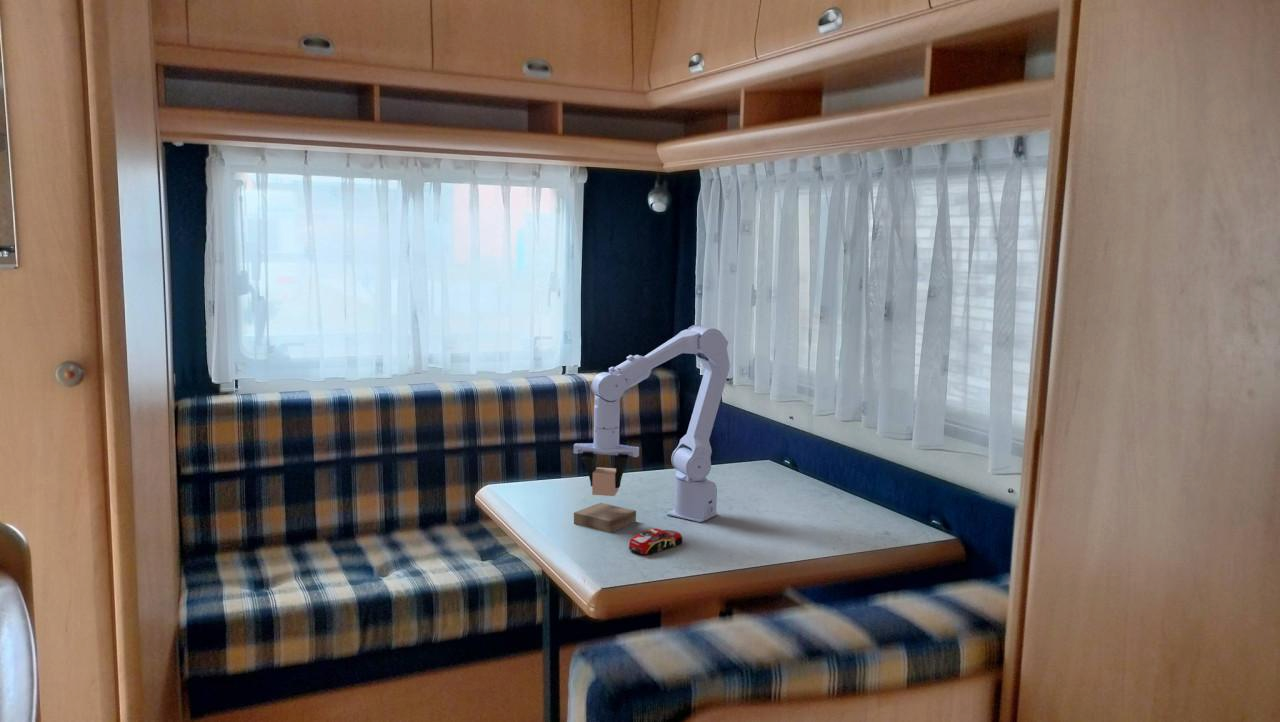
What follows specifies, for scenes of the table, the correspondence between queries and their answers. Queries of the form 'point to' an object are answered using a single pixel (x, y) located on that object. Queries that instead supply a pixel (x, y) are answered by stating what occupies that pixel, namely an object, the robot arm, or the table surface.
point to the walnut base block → (604, 517)
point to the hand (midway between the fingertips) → (605, 486)
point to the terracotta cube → (604, 482)
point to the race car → (654, 541)
